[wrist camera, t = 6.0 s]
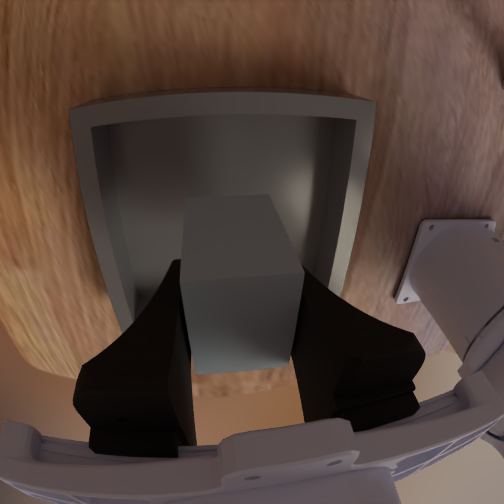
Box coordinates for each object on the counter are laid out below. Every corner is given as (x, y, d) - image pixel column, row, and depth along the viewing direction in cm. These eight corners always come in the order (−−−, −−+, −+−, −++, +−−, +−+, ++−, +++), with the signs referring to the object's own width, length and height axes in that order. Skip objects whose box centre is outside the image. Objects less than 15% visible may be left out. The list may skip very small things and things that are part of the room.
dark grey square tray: (350, 94, 15) (377, 102, 13) (320, 291, 23) (334, 319, 21) (90, 100, 13) (68, 109, 11) (129, 304, 21) (123, 335, 19)
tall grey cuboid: (268, 194, 13) (304, 272, 9) (263, 277, 16) (288, 365, 11) (186, 198, 13) (179, 281, 8) (193, 282, 16) (195, 374, 11)
